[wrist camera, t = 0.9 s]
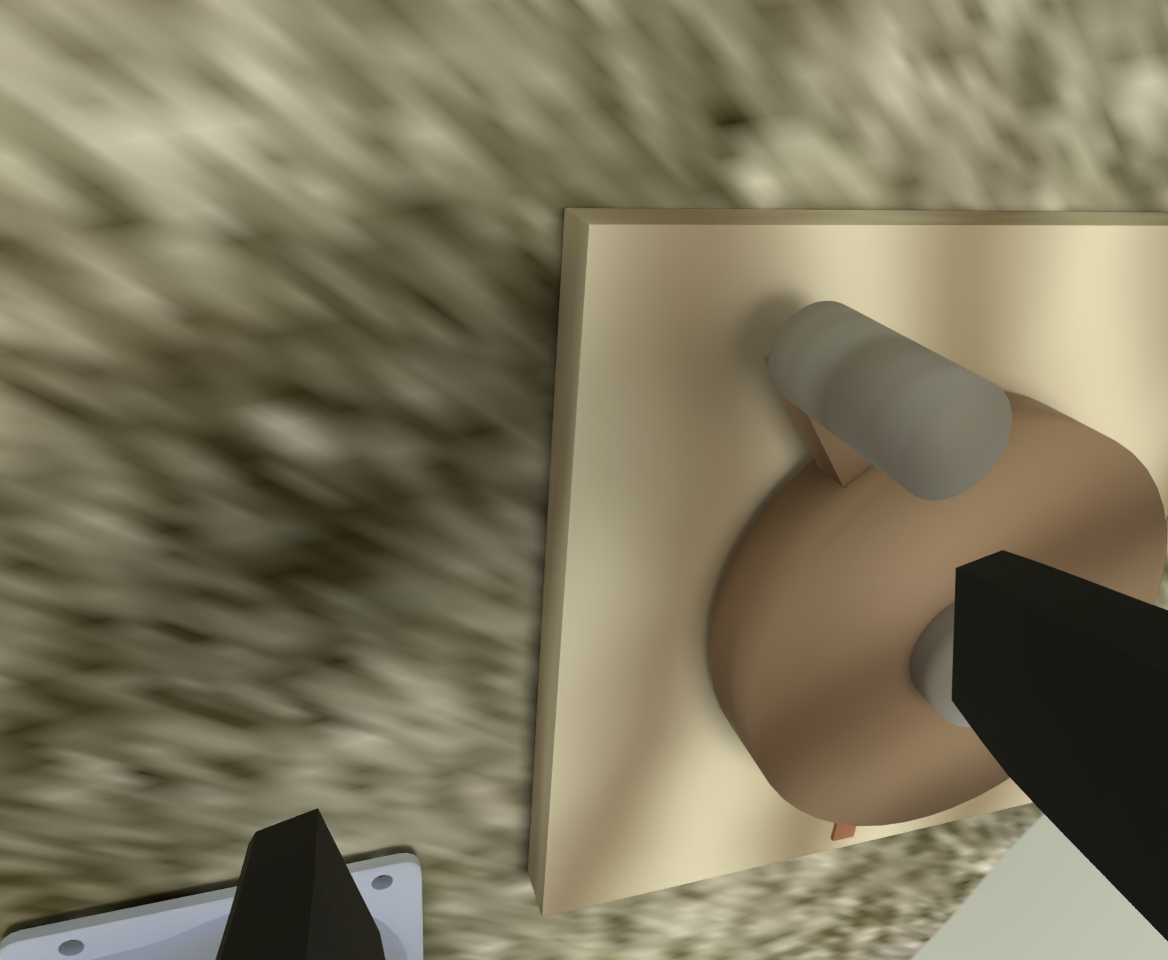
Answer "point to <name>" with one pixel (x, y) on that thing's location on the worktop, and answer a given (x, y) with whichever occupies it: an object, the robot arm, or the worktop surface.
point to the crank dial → (902, 563)
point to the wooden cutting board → (764, 483)
